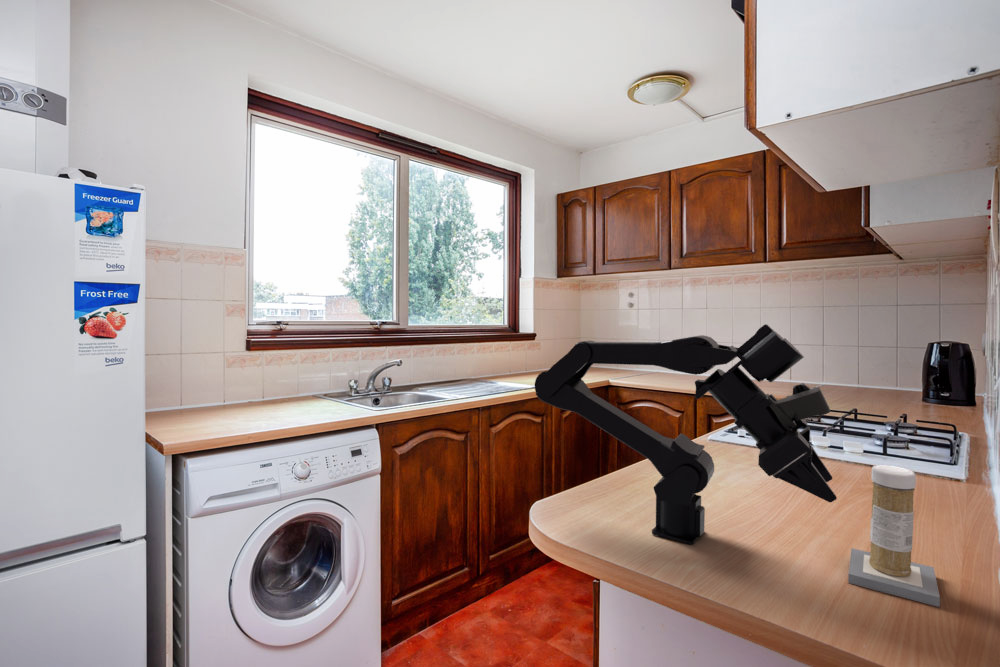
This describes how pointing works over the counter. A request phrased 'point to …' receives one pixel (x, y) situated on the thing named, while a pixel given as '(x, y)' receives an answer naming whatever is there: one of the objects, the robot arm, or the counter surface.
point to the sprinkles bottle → (892, 519)
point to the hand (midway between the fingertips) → (831, 489)
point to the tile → (895, 579)
